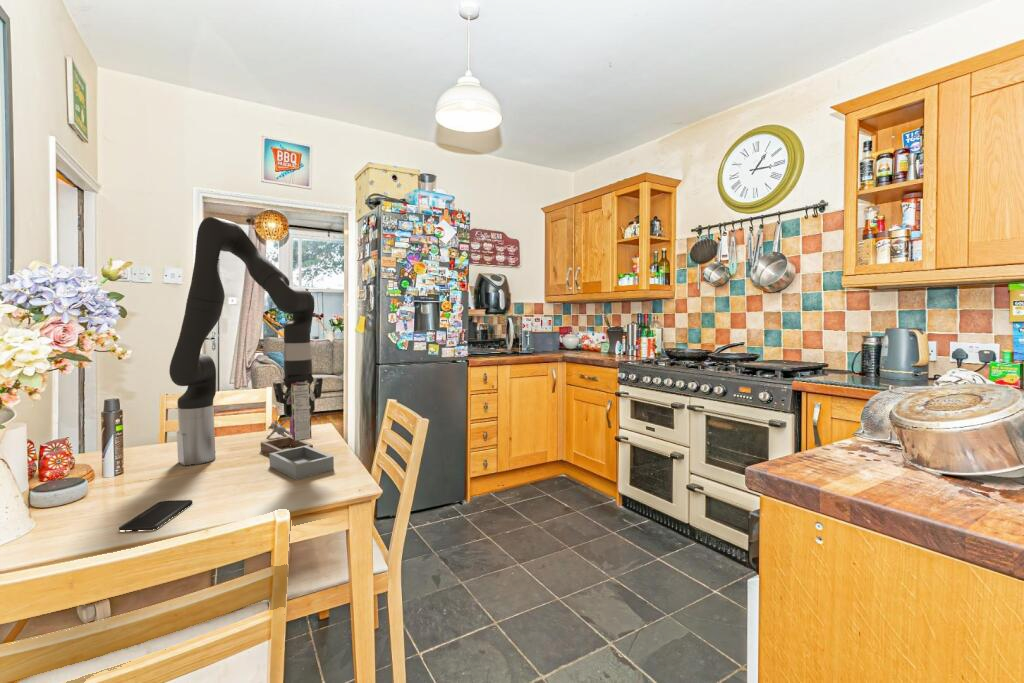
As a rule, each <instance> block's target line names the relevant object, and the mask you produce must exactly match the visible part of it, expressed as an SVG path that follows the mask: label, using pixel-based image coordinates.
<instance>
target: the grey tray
mask: <svg viewBox="0 0 1024 683" xmlns="http://www.w3.org/2000/svg"><path fill="white" fill-rule="evenodd" d="M282 450H283V451H278V452H274V453H269V455H268V456H269V467H270V468H272V469H274V470H275V471H277V472H279V471H280V472H279V473H281V472H282V473H281V474H283V473H284V475H285V474H286V475H285V476H287V475H288V476H287V477H289V476H290V478H291V477H292V478H291V479H293V478H294V479H293V480H295V479H298V480H301V478H302V479H304V477H305V478H309V477H312V476H311V475H313V476H316V475H315V474H317V475H320V474H323V473H322V472H324V473H327V472H326V471H328V472H330V470H331V471H334V470H335V465H334V464H335V463H334V459H335V458H334V455H331V454H328V453H326V452H323V451H320V450H318V449H316V448H314V447H313V448H311V447H309V446H301V447H297V448H294V447H291V448H288V449H282ZM319 473H320V474H319ZM308 476H309V477H308Z"/></svg>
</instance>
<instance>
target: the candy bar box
mask: <svg viewBox="0 0 1024 683" xmlns="http://www.w3.org/2000/svg"><path fill="white" fill-rule="evenodd" d="M310 388H311V385H310V384H309V383H308V382H299V383H291V390H290V392H291V403H290V404H291V412H292V416H291V417H288V420H289V432H290V433H291V436H292V437H293V439H294V441H300V440H302V441H304V440H305V441H306V440H310V439H312V413H311V406H310Z"/></svg>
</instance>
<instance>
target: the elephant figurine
mask: <svg viewBox="0 0 1024 683" xmlns="http://www.w3.org/2000/svg"><path fill="white" fill-rule="evenodd" d="M288 420H289V417H286V418H284V420H283V421H282V422H281V423H279V422H278V420H277V419H276V420H274V422H272V423H270V426H268V428H267V429H268V430H269V429H270V430H272V429H273V430H272V432H271V433H270V434H269V435H267V437H266V439H269V438H271V437H272V435H273V434H275V433H276V434H277V435H278V436H282V437H283V438H284V437H289V436H292V435H291V433H290V430H287V429H286V428H285V427H284V424H286V422H287V421H288ZM288 435H289V436H288Z"/></svg>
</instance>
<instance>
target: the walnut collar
mask: <svg viewBox="0 0 1024 683" xmlns="http://www.w3.org/2000/svg"><path fill="white" fill-rule="evenodd" d="M287 445H291V446H293V447H292V448H294V447H295V448H297V447H301V446H309V447H311V448H314V446H313V445H314V444H311V443H309V442H307V441H304V440H300V441H294V439H293V437H292V435H291V436H290V435H289V436H288V437H284V436H283V437H279V438H275V439H270V440H265V441H260V451H261V453H264V454H266V455H268V454H269V453H274V452H278V451H283V450H284V449H281V448H284V447H283V446H286V447H288V446H287ZM291 446H290V447H291ZM279 447H281V448H279Z"/></svg>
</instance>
